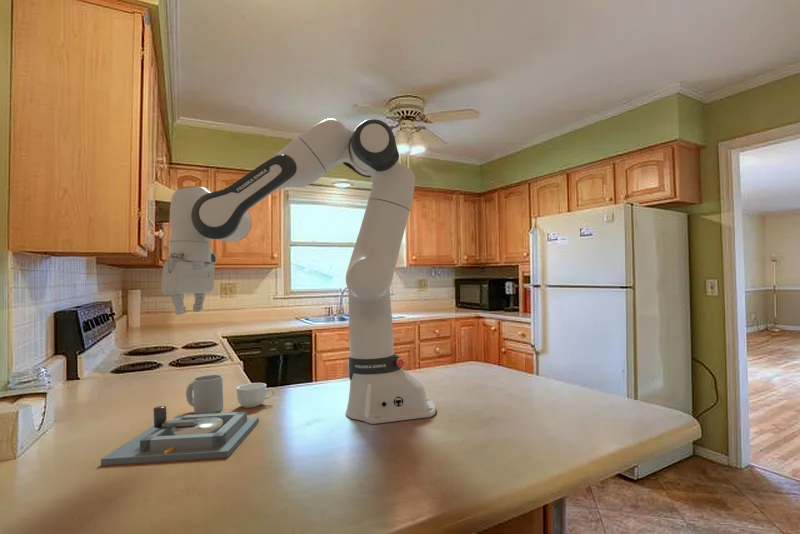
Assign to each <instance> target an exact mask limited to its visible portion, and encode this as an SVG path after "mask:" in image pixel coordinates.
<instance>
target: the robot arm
mask: <svg viewBox="0 0 800 534" xmlns="http://www.w3.org/2000/svg"><path fill="white" fill-rule="evenodd" d="M399 159H400V155H399V150H398V146H397V142H396V137H395V134H394V132H393V130H392V129H391V127H390V126H389V125H388V124H387V123H386V122H384V121H383V120H380V119H376V118H372V119H366V120H364V121H363V122H361V123H359V125H357V126H356V128H355V129H354V130H352V131H351V130H350V129H348V128H347V127H346V126H345V124H343V123H342V122H341V121H339V120H337V119H336V118H327V119H324V120H322V121H320V122H318V123H316V124H314V125H313V126H310V127H309V128H308V129H306V130H305V131H303V132H301V133H300V134H299V135H298V136H297V137H295V138H294V139H293V140H292V141H289V143H288V144H287V145H286V146H284V147H283V148H282V149H281V150H279V151H278V152H277V153H275V154H274V155H273V156H272V157H270V158H268V160H266V161H265V162H263V163H261V164H260V165H258V166H257V167H256V168H254V169H253V170H251V171H250V172H248V173H247V174H245V175H244V176H242V177H241V178H240V179H238V180H237V181H235V182H234V183H232V184H231V185H229V186H228V187H225V188H222V189H219V190H215V191H209V190H208V189H207V188H206V187H203V186H196V185H195V186H194V185H192V186H191V185H189V186H184V187H181V188H178V189H177V190H175V191H174V192H173V194H172V196H171V200H170V205H169V207H170V208H169V228H170V236H169V242H168V257H167V259H166V261H165V262H164V264H163V266H162V267H163V268H162V274H161V284H160V285H161V286H160V287H161V288H160V289H161V291H162V294H163V295H164V296H165V295H171V301H172V304H173V307H174V314H175V315H179V316H180V315H182V316H183V315H184V314H186V313H187V312H186V306H185V304H184V300H185V295H188V294H189V295H191V294H194V296H193V297H194V298H195V299H194V304H193V305H192V311H193V313H194V312H195V313H196V312H197V313H199V312H202V311H203V309H204V307H203V306H204V302H205V300H206V299H205V298H206V293H212V292H213V290H214V287H215V286H214V285H215V264H217V255H216V254H215V253H214V252H213V251H212V249H211V240H219V241H222V242H227V243H230V242H231V243H233V242H239V241H241V240H243V239H244V238H246V237H247V236H248V234H249V233H250V231H251V228H252V218H251V216H250V214H249V212H248V211H249V210H250V209H252V208H254V207H255V206H256V205H257V204H259V203H260V202H261V201H263V200H264V199H265V198H267V197H268V196H270V195H271V194H272V193H274V192H276V191H279V190H280V189H284V188H305V187H307V186H309V185H311V184H313V183H315V182H316V181H318V180H319V179H321V178H322V177H323V176H325V175H326V174H327V173H328V172H329V171H330V170H332V169H333V168H334V167H336V166H337V165H339V164H342V163H343V166H344V165H345V166H346V167H347V168H348V169H350V170H352V171H353V172H354V173H356V174H358V175H360V177H364V178H371V180H372V183H371V189H370V192H369V193H370V194H369V196H368V200H367V203H366V207H365V210H364V213H363V214H364V215H363V218H362V221H361V225H360V228H359V232H358V235H357V237H356V242H355V243H354V247H353V250H352V254H351V257H350V260H349V263H348V267H347V270H346V274H345V285H346V287H347V289H348V291H347V292H348V334H349V335H348V337H349V339H348V340H349V342H348V343H349V356H348V361H347V367H348V368H347V369H348V370H347V371H348V379H349V381H350V382H349V391H348V392H349V393H348V401H347V406H346V411H345V416H346V417H348V418H350V419H353V420H356V421H357V420H358V421H363V422H365V423H368V424H370V425H372V424H373V425H375V424H376V425H377V424H384V423H393V422H400V421H408V420H415V419H422V418H423V419H424V418H431V417H432V416H434V415H435V414H436V412H437V409H436V408H437V407H436V404H435V402H434V401H433V400H432V399H429V398H427V394H426V390H425V387H424V385H423V384H422V382H420V380H419V379H417V378H416V377H414V376H413V375H411V374H410V373H409V372H408V371H406V370H404V369H403V367H404V366H405V359H404V358H403V357H402V356H400V355H399V354H398V355H397V354H396V353H395V352H394V331H393V314H392V303H391V302H392V301H391V285H392V281H393V278H394V274H395V271H396V267H397V266H396V265H397V262H398V258H399V254H400V249H401V246H402V241H403V238H404V234H405V230H406V227H407V223H408V219H409V216H410V212H411V208H412V205H413V199H414V192H415V183H416V177H415V173H414V171H412V169H411V168H409V167H408V166H407V165H405V164H403V163H399Z"/></svg>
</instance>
